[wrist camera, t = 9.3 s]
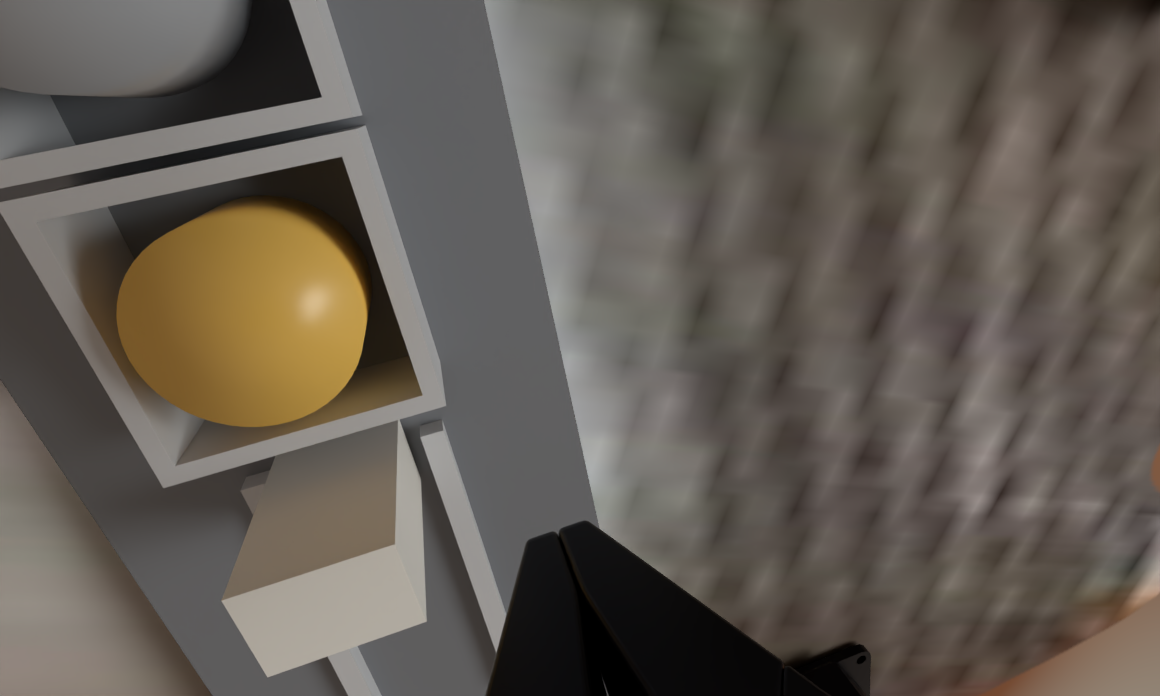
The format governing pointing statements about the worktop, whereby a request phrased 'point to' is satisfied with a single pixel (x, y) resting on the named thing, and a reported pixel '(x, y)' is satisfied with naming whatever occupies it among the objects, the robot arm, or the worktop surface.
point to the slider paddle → (332, 551)
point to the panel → (392, 338)
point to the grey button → (118, 45)
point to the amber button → (248, 312)
